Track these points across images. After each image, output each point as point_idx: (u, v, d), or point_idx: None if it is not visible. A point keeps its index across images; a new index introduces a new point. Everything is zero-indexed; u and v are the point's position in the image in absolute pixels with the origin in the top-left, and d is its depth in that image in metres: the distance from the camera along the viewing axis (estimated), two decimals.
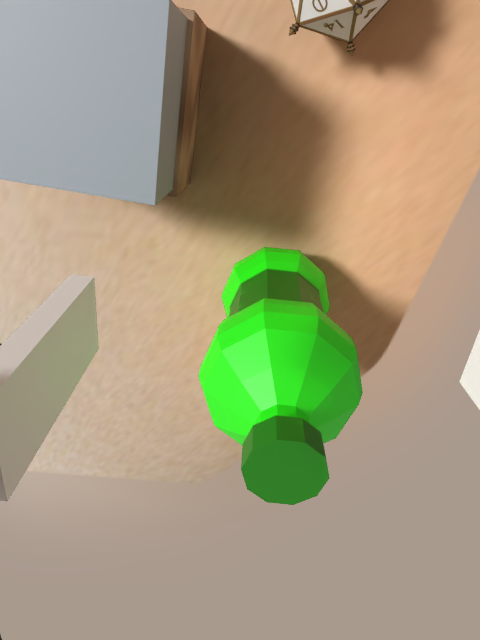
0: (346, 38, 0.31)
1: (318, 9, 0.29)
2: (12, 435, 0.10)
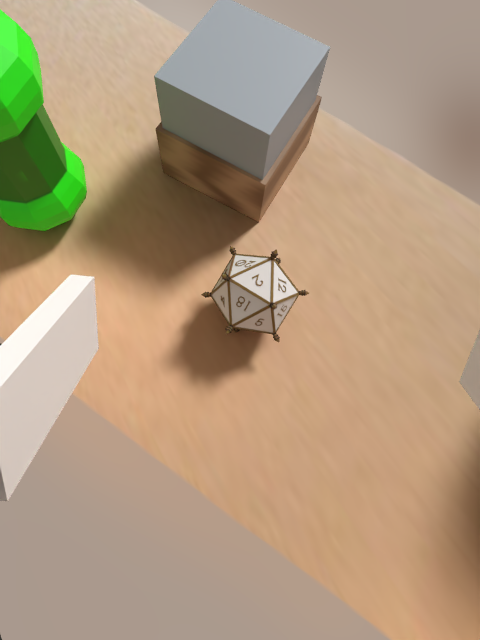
0: (213, 289, 0.41)
1: (237, 262, 0.39)
2: (12, 435, 0.10)
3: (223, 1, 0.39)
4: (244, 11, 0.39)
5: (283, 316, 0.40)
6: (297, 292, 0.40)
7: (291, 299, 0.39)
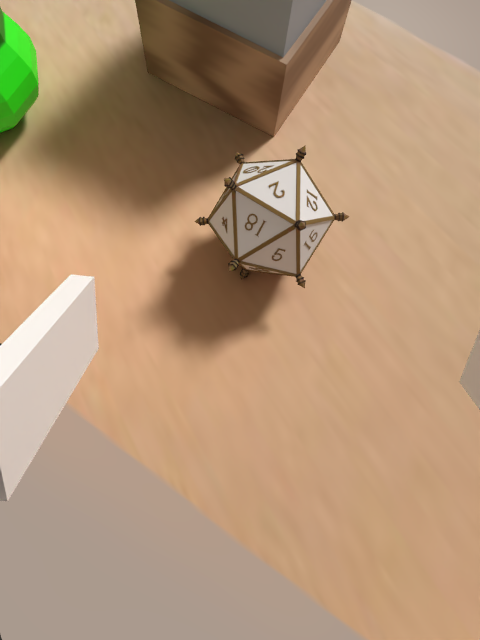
0: (212, 213, 0.29)
1: (246, 170, 0.27)
2: (12, 435, 0.10)
3: None
4: None
5: (311, 250, 0.28)
6: (332, 215, 0.28)
7: (324, 224, 0.27)
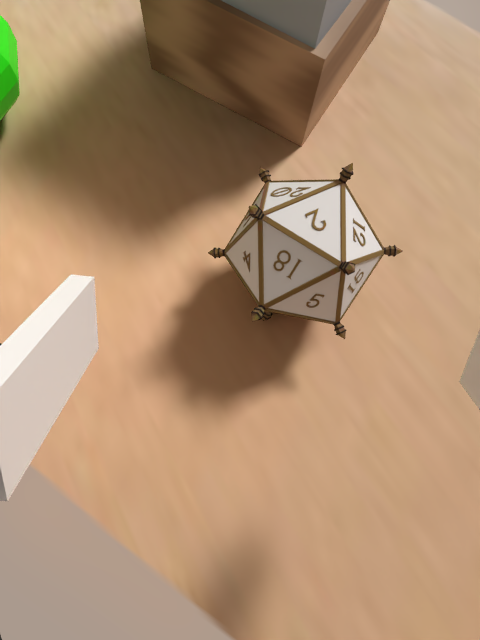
0: (230, 243, 0.23)
1: (274, 192, 0.22)
2: (12, 435, 0.10)
3: None
4: None
5: (355, 292, 0.22)
6: (381, 249, 0.22)
7: (372, 261, 0.22)
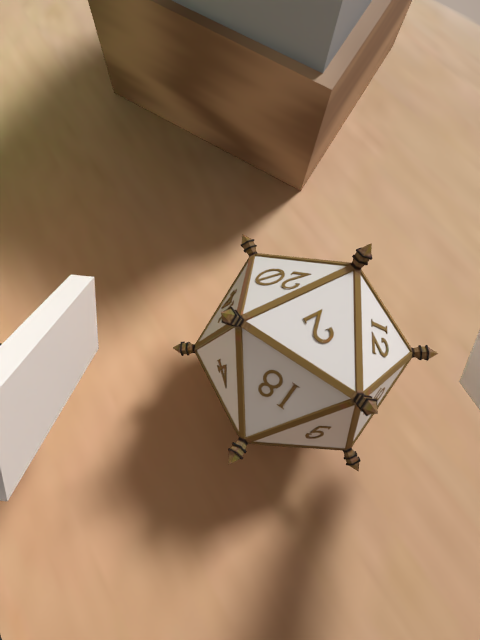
0: (202, 337, 0.17)
1: (260, 275, 0.16)
2: (12, 435, 0.10)
3: None
4: None
5: None
6: (409, 352, 0.16)
7: (396, 371, 0.15)
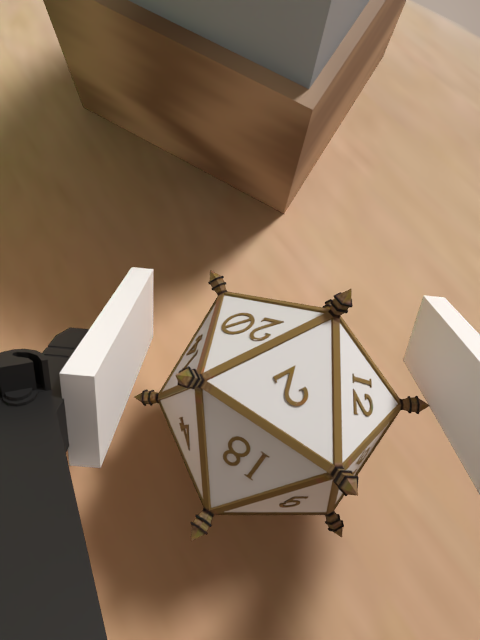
0: (165, 386, 0.15)
1: (228, 321, 0.14)
2: (105, 408, 0.11)
3: None
4: None
5: (356, 470, 0.14)
6: (397, 404, 0.14)
7: None
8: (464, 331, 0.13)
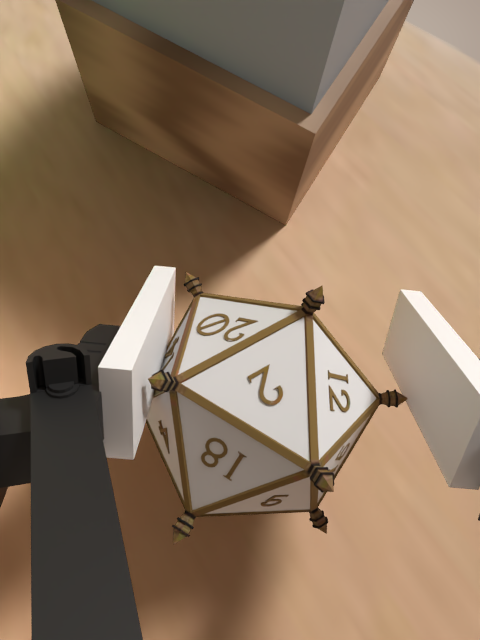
0: None
1: (203, 322, 0.14)
2: (138, 402, 0.11)
3: None
4: None
5: (338, 466, 0.14)
6: (376, 399, 0.14)
7: (362, 423, 0.14)
8: (436, 323, 0.14)
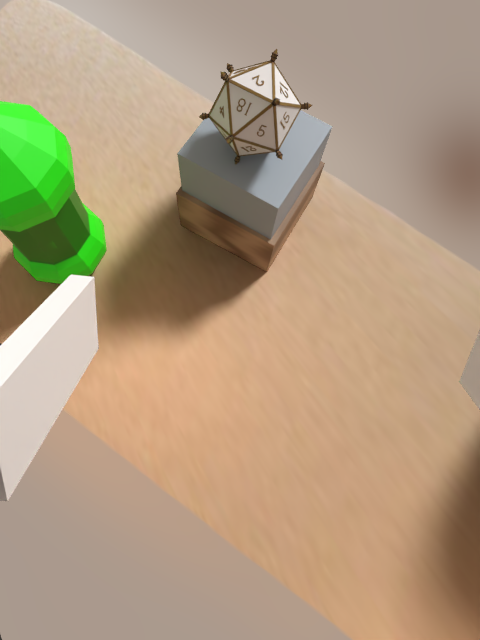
0: (211, 109, 0.39)
1: (235, 73, 0.37)
2: (12, 435, 0.10)
3: None
4: None
5: (286, 130, 0.38)
6: (299, 104, 0.38)
7: (293, 109, 0.37)
8: None
